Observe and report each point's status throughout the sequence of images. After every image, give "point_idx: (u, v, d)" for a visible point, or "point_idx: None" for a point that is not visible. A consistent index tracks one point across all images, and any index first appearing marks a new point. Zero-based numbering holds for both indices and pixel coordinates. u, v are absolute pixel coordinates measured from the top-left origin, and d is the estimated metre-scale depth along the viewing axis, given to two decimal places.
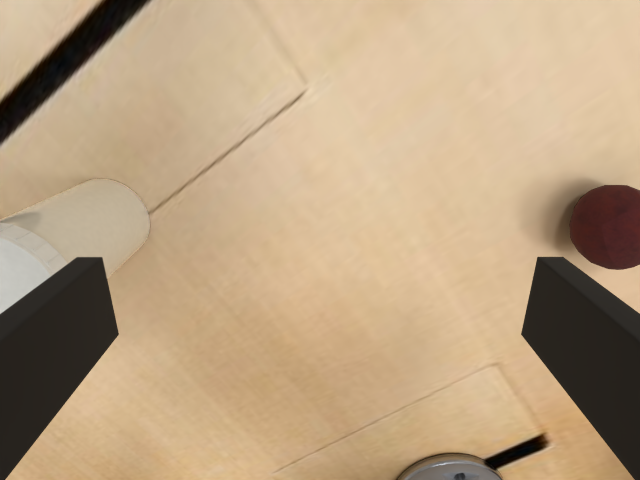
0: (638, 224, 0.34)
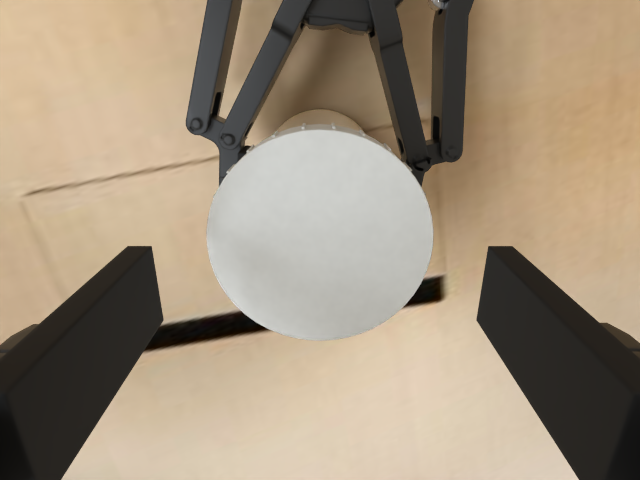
0: None
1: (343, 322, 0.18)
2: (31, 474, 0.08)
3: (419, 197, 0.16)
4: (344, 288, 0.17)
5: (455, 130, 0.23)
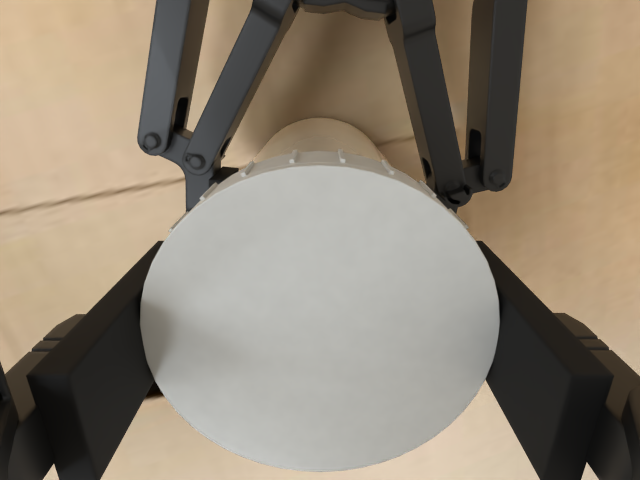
0: None
1: (355, 448, 0.12)
2: (87, 453, 0.08)
3: (480, 272, 0.10)
4: (357, 402, 0.11)
5: (503, 149, 0.17)
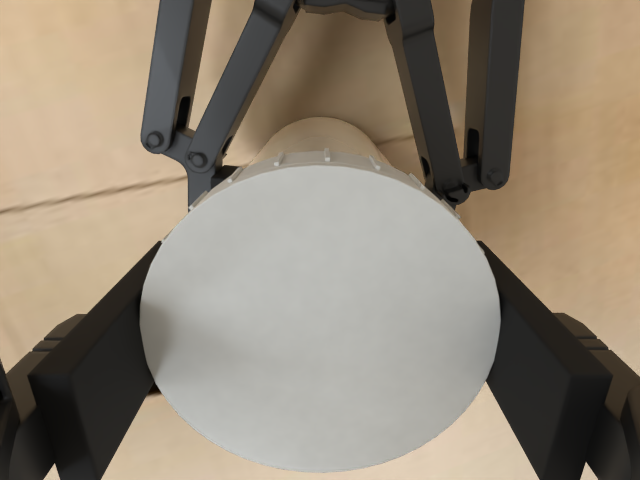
0: None
1: (466, 307, 0.10)
2: (88, 453, 0.08)
3: (226, 199, 0.09)
4: (398, 308, 0.10)
5: (501, 148, 0.17)
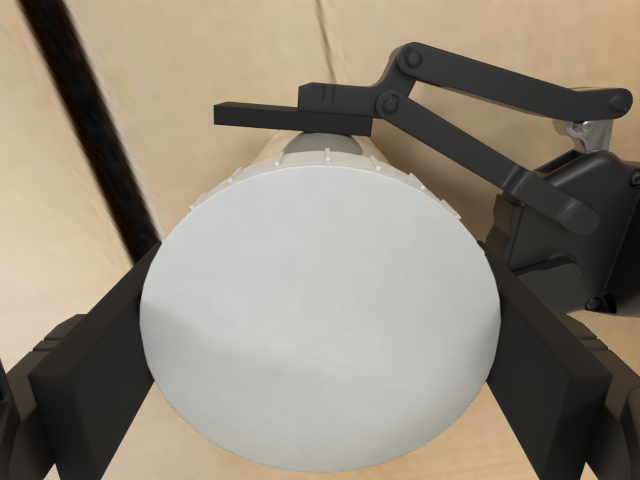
0: None
1: (466, 307, 0.10)
2: (88, 453, 0.08)
3: (227, 199, 0.09)
4: (398, 308, 0.10)
5: None
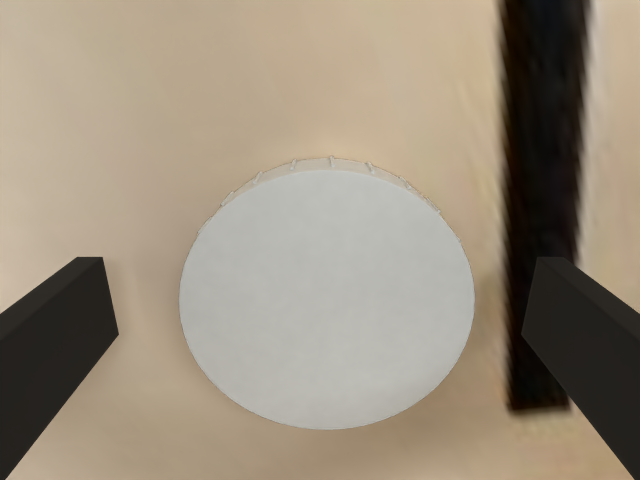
0: None
1: (446, 285, 0.12)
2: None
3: (252, 197, 0.11)
4: (390, 286, 0.12)
5: None
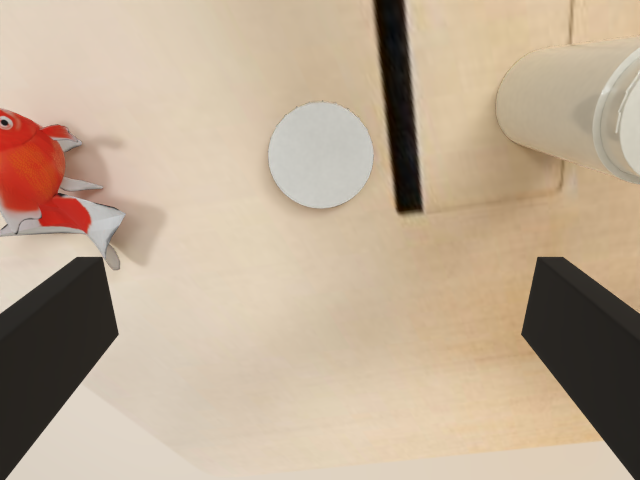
0: None
1: (362, 145, 0.35)
2: None
3: (296, 112, 0.34)
4: (343, 145, 0.35)
5: None
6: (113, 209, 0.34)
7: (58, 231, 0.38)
